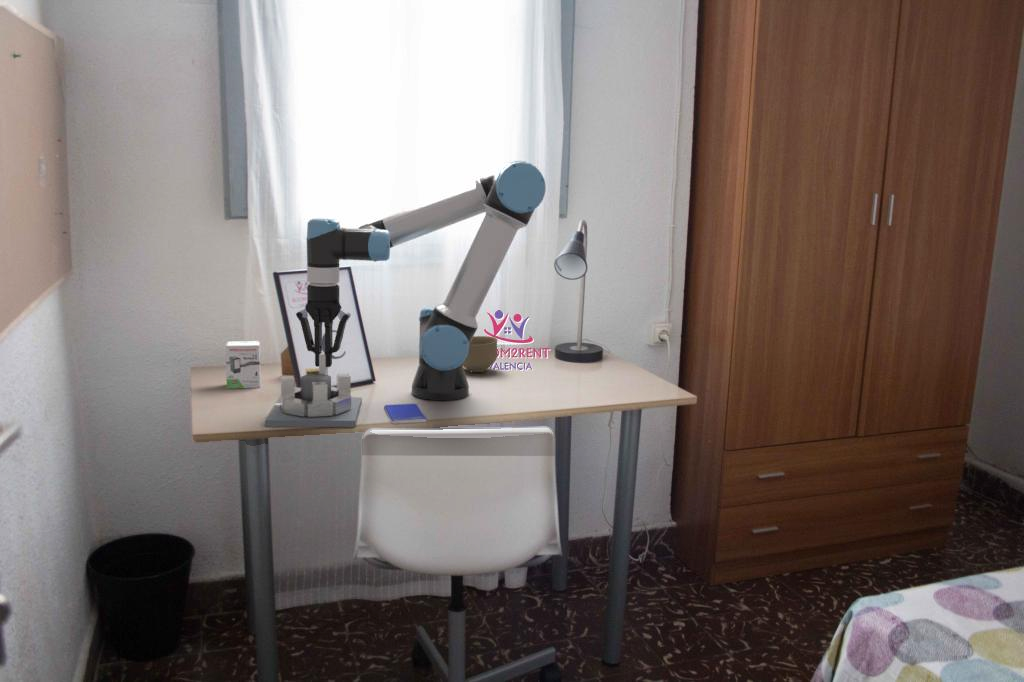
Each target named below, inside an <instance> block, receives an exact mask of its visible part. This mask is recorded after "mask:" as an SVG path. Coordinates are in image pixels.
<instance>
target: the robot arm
mask: <svg viewBox="0 0 1024 682" xmlns="http://www.w3.org/2000/svg"><path fill="white" fill-rule="evenodd" d="M475 179H476V180H475V181H474V183H473V184H470V185H468V186H464V187H462V188H459V189H457V190H454V191H452V192H449V193H447V194H444V195H442V196H439V197H435V198H434V199H430V200H429V201H425V202H423V203H420V204H418V205H415V206H413V207H410V208H408V209H405V210H402V211H400V212H397V213H394V214H392V215H389V216H386V217H383V218H382V219H380V220H377V221H374V222H370V223H366V224H363V225H361V226H359V227H358V228H346V227H345V228H344V227H341V224H340V221H339V220H338V219H334V218H333V219H332V218H312V219H310V220H308V221H307V227H306V229H307V230H306V231H307V232H306V267H307V268H306V269H307V270H306V271H307V272H306V277H307V278H306V282H307V283H308V285H307V287H306V288H307V291H306V292H307V293H306V294H307V295H306V296H307V301H306V303H305V306H304V307H305V308H303V309H302V310H299V311H298V312H296V313H295V315H296V317H297V319H298V320H299V323H300V325H301V330H302V334H303V338H304V343H305V345H306V349H307V351H308V352H312V353H313V354H314V365H315V367H317V368H318V367H319V374H324V375H329V368H331V366H332V365H333V354H334V353H337V352H338V351H339V350H340V349H341V345H342V342H343V337H344V333H345V328H346V325H347V322H348V321H349V319H350V318H351V313H350V312H346V311H344V310H343V309H342V305H341V303H340V286H339V285H338V284H339V282H340V260H342V261H346V260H347V261H348V260H349V261H367V262H368V261H369V262H375V263H376V262H384V261H385V262H386V261H388V260H389V259H390V256H391V248H393V247H396V246H398V245H402V244H404V243H406V242H410V241H411V240H415V239H417V238H420V237H423V236H425V235H428V234H430V233H433V232H435V231H438V230H441V229H444V228H446V227H449V226H452V225H454V224H457V223H459V222H462V221H465V220H468V219H471V218H473V217H475V216H478V215H482V214H483V213H485V215H484V217H483V220H482V222H481V223H480V226H479V228H478V231H477V233H476V234H475V237H474V239H473V241H472V243H471V244H470V248H469V249H468V251H467V253H466V256H465V258H464V260H463V261H462V263H461V266H460V268H459V270H458V272H457V274H456V277H455V279H454V281H453V283H452V285H451V287H450V289H449V292H448V294H447V295H446V298H445V300H444V301H443V303H441V304H438V305H435V307H425V308H422V309H421V310H420V312H419V316H418V317H419V319H418V321H419V340H418V341H419V343H418V345H419V347H418V350H419V351H418V366H417V369H416V372H415V374H414V378H413V381H412V383H411V394H412V395H413V396H415V397H417V398H419V399H425V400H428V401H429V400H430V401H452V400H453V401H455V400H461V399H463V398H467V396H468V395H469V390H470V389H469V388H470V387H469V386H470V385H469V383H468V378H467V376H466V372H465V369H464V368H465V367H464V366H463V362H464V361H465V359H466V357H467V355H468V351H469V344H470V342H471V340H472V338H473V336H475V334H476V332H477V330H478V328H479V326H478V322H477V320H476V318H477V315H478V314H479V311H480V309H481V307H482V305H483V303H484V301H485V298H486V297H487V295H488V292H489V291H490V289H491V287H492V284H493V283H494V280H495V279H496V276H497V274H498V272H499V270H500V268H501V267H502V264H503V261H504V260H505V258H506V255H507V254H508V251H509V249H510V247H511V245H512V243H513V241H514V239H515V236H516V235H517V233H518V231H519V230H520V229H523V228H526V227H528V224H529V222H530V220H531V218H532V216H533V214H534V212H535V210H536V209H537V208H538V207H539V206H540V204H541V203H542V202H543V200H544V198H545V194H546V188H547V187H546V181H545V180H546V179H545V177H544V176H543V174H542V172H541V171H540V169H538V168H537V167H536V166H535V165H533V164H532V163H531V162H527V161H523V160H514V161H511V162H507V163H504V164H503V165H501V166H499V167H497V169H495V170H492V171H491V172H489V173H487V174H485V175H482V176H480V177H477V178H475ZM338 315H339V316H338ZM309 316H310V318H311V319H312V321H313V328H314V338H313V335H312V331H311V330H312V329H311V326H310V321H309V318H308V317H309ZM337 317H338V319H339V322H338V326H337V330H336V333H335V337H334V338H335V339H334V342H333V326H334V320H336V318H337ZM323 324H324V325H323ZM323 326H324V348H323ZM323 350H324V352H323Z"/></svg>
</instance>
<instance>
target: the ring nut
mask: <svg viewBox="0 0 1024 682" xmlns="http://www.w3.org/2000/svg"><path fill="white" fill-rule="evenodd" d="M304 371H305V375H309V374H319V368H318V367H317V368H315V367H314V368H305V370H304ZM351 377H352V376H351V375H350V374H349V373H336V387H335V386H331V399H329V400H327V383H326V381H323V382H312V401H307V400H302V399H301V386H300V387H296V385H295V380H296V379H295V377H294V375H282V376H281V375H280V396H281V407H282V411H283V412H285V413H287V414H292V415H297V416H302V417H305V416H308V417H317V416H333V414H334V415H337V414H340V413H342V412H345V411H347V410H350V409H351V397H352V395H351V392H352V391H351V384H352V378H351Z"/></svg>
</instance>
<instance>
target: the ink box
mask: <svg viewBox="0 0 1024 682" xmlns="http://www.w3.org/2000/svg"><path fill="white" fill-rule="evenodd" d="M225 359H226V360H225V364H226V366H225V367H226V369H225V370H226V389H228V390H229V389H255V388H257V389H259V388H261V342H260V341H259V340H239V341H238V340H237V341H236V340H233V341H227V342H226V343H225Z"/></svg>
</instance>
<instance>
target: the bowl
mask: <svg viewBox="0 0 1024 682" xmlns="http://www.w3.org/2000/svg"><path fill="white" fill-rule="evenodd" d="M497 358H498V338H497V337H494V336H486V335H485V336H484V335H476V336H475V335H474V336H473V338H472V340H471V342H470V344H469V351H468V355H467V357H466V359H465V361H464V362H463V368H465V369H467V370H468V371H469V372H470V371H472V372H481V373H484V371H485V372H486V371H487V369H488V368H491V366H492V365H493V364H494V363H495V362H496V360H497ZM472 372H471V373H472Z"/></svg>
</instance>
